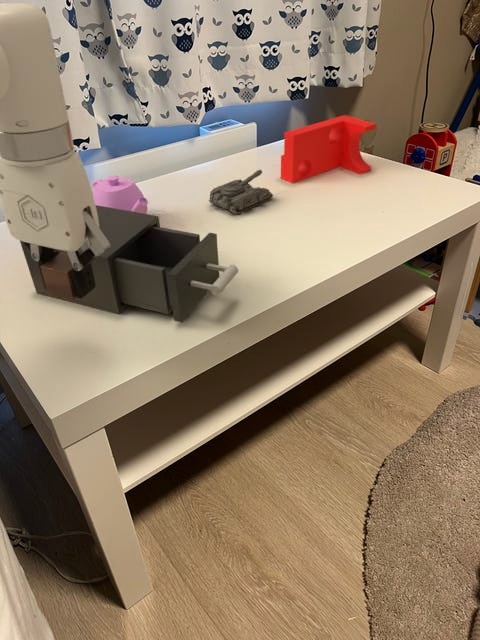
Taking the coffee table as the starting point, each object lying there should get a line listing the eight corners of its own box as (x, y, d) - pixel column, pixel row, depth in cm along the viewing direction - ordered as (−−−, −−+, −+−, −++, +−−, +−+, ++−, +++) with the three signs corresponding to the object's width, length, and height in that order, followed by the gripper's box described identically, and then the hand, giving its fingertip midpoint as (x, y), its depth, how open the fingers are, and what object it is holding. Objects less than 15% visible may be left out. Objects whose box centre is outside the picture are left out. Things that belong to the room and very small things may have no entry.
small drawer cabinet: (166, 269, 87) (158, 216, 81) (119, 314, 77) (107, 257, 71) (89, 252, 92) (77, 201, 86) (36, 293, 82) (18, 238, 76)
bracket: (341, 114, 118) (376, 123, 112) (338, 158, 125) (370, 170, 118) (281, 131, 110) (314, 143, 103) (280, 178, 116) (312, 192, 110)
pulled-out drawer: (247, 284, 81) (246, 239, 76) (212, 330, 72) (208, 282, 67) (141, 261, 87) (134, 218, 83) (96, 301, 78) (85, 255, 74)
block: (73, 301, 64) (67, 272, 61) (47, 294, 65) (40, 266, 63) (93, 285, 67) (88, 257, 64) (68, 278, 68) (62, 251, 66)
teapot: (120, 205, 107) (112, 161, 102) (170, 225, 99) (165, 178, 94) (78, 224, 101) (67, 177, 96) (128, 247, 93) (119, 198, 88)
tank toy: (245, 187, 113) (245, 163, 110) (278, 199, 107) (278, 175, 104) (203, 205, 106) (201, 180, 103) (235, 219, 101) (234, 193, 98)
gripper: (-52, 142, 55) (-3, 289, 66) (77, 162, 49) (108, 320, 60) (1, 123, 61) (39, 262, 71) (122, 139, 55) (143, 287, 66)
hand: (70, 287), depth 66 cm, fingers closed on block, 4 cm apart
